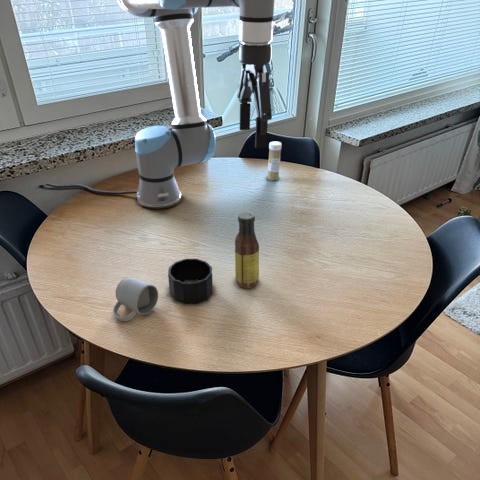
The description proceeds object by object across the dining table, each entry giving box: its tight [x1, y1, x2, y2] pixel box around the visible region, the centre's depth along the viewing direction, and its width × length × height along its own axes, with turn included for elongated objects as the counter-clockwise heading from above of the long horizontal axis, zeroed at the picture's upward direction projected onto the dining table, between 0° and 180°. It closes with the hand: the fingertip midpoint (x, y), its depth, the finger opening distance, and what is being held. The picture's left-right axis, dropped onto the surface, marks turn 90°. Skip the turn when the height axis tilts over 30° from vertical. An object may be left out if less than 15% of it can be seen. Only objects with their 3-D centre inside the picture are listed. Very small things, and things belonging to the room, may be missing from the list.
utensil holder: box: [167, 258, 214, 305], centre depth 112 cm, size 11×11×6 cm
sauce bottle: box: [234, 211, 260, 289], centre depth 111 cm, size 6×6×20 cm
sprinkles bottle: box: [266, 140, 283, 181], centre depth 165 cm, size 5×5×13 cm
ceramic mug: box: [112, 277, 159, 322], centre depth 106 cm, size 11×8×8 cm
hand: (252, 138), depth 114 cm, fingers open, 13 cm apart
